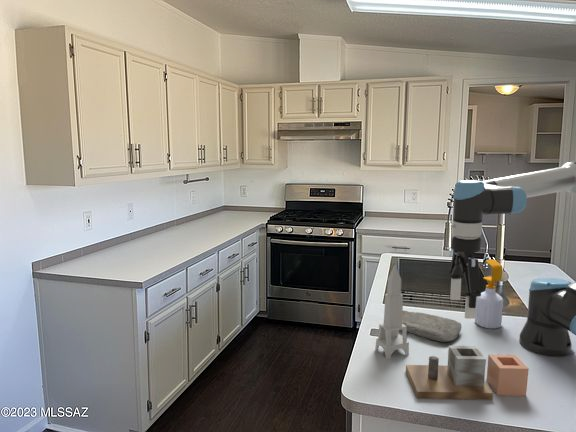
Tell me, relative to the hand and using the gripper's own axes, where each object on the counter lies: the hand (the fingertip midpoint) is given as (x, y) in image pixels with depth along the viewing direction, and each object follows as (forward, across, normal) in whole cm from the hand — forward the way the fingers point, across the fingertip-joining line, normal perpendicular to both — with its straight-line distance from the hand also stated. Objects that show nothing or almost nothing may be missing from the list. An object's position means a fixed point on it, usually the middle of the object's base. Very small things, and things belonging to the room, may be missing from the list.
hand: (462, 308), depth 126 cm
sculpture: (+21, -14, -17) cm, 30 cm away
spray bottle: (+22, -38, +22) cm, 49 cm away
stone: (+22, -31, -4) cm, 38 cm away
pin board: (+21, +5, -5) cm, 22 cm away
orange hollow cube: (+21, +6, +11) cm, 25 cm away
